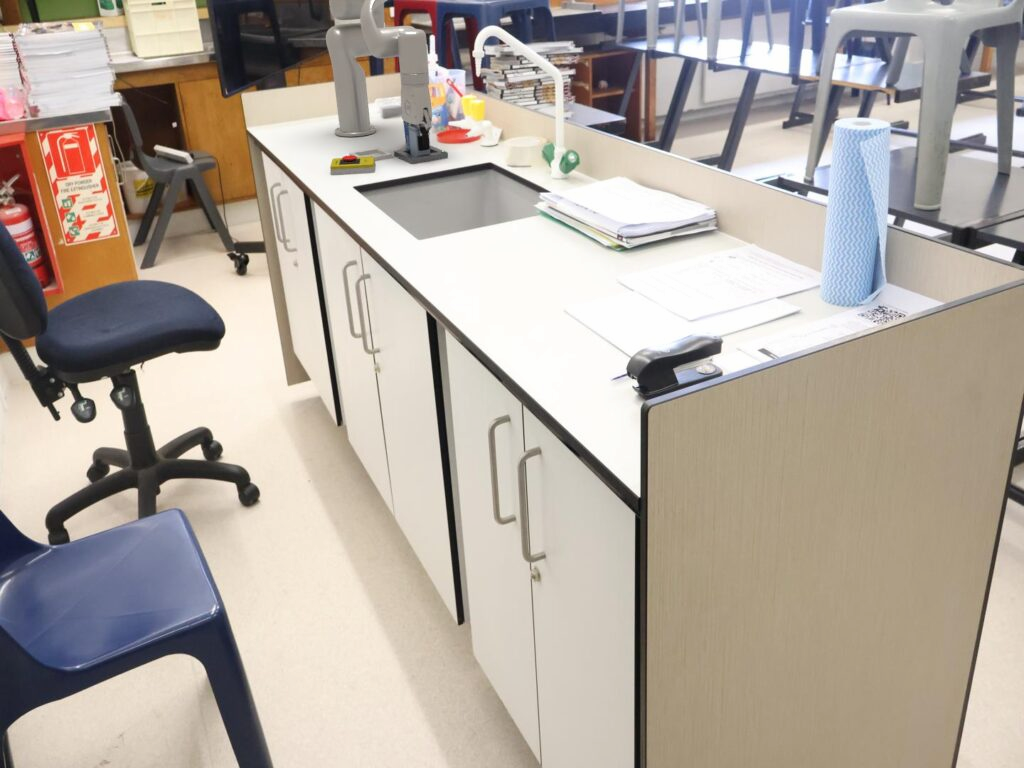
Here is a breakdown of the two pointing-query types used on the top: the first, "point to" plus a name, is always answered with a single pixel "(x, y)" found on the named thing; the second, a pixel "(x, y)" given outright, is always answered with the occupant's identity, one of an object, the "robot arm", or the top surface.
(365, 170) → the emergency button
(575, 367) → the top surface
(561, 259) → the top surface
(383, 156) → the grey square tray
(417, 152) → the plug
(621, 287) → the top surface
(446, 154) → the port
